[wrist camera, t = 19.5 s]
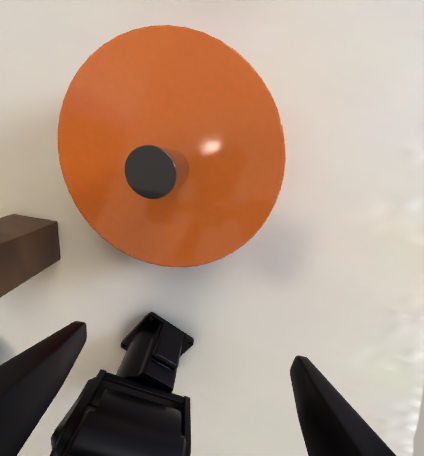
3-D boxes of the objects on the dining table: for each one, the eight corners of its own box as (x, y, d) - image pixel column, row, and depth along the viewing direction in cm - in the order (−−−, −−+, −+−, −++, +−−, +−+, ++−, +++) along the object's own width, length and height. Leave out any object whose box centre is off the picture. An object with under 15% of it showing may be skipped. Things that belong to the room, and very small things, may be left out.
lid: (191, 291, 18) (181, 347, 13) (34, 180, 15) (-67, 192, 10) (326, 154, 14) (393, 152, 9) (146, -35, 11) (80, -215, 6)
